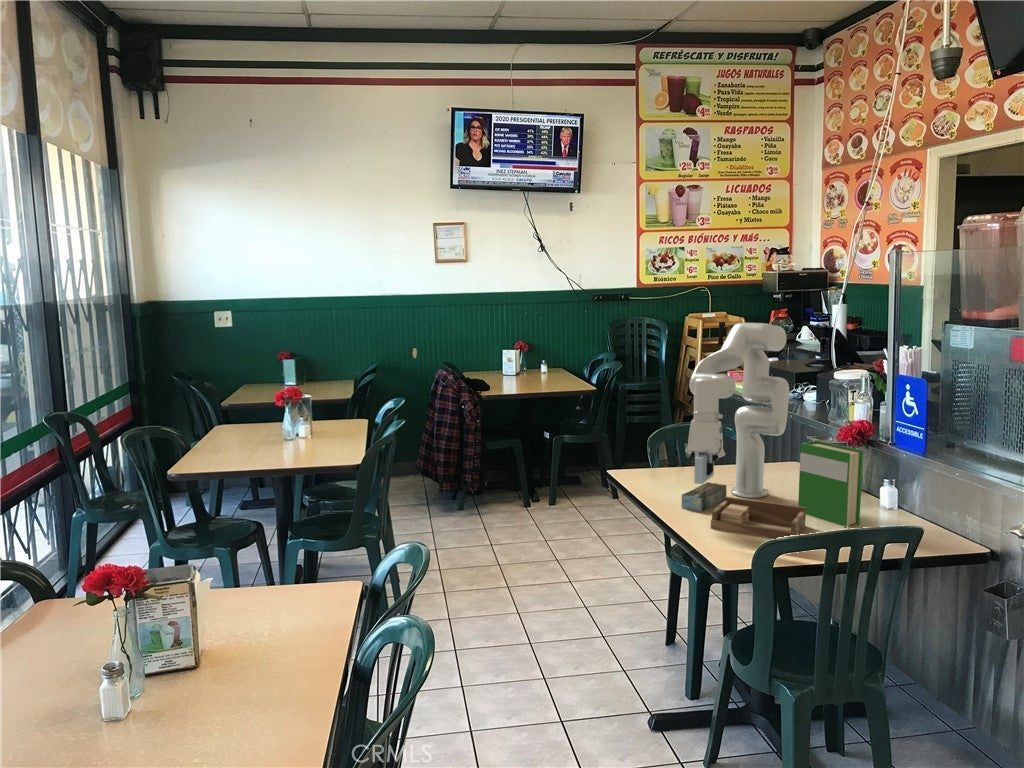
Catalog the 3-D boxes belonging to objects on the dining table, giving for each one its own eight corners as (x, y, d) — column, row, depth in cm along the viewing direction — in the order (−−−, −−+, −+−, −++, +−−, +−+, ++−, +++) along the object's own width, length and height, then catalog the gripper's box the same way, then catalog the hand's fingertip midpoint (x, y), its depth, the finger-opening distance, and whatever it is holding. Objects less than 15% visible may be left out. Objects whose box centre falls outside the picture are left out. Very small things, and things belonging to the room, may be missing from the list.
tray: (725, 517, 273) (725, 496, 272) (805, 528, 261) (806, 507, 260) (710, 531, 260) (711, 509, 259) (793, 544, 247) (794, 521, 246)
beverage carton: (680, 511, 281) (680, 492, 280) (706, 498, 296) (706, 480, 295) (701, 515, 276) (702, 496, 275) (727, 502, 291) (728, 484, 290)
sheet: (706, 474, 271) (706, 450, 270) (713, 475, 270) (714, 450, 269) (694, 483, 261) (695, 457, 260) (701, 484, 260) (702, 458, 259)
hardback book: (859, 524, 264) (863, 450, 261) (844, 529, 260) (848, 453, 257) (812, 511, 279) (815, 440, 276) (797, 514, 275) (800, 443, 272)
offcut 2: (730, 512, 270) (730, 508, 270) (749, 515, 267) (749, 510, 267) (720, 522, 260) (720, 517, 260) (739, 525, 257) (739, 520, 257)
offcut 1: (730, 508, 270) (730, 503, 269) (749, 510, 267) (749, 506, 266) (720, 517, 260) (720, 512, 260) (739, 520, 257) (740, 515, 257)
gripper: (734, 417, 262) (733, 474, 265) (685, 412, 270) (683, 468, 273) (727, 421, 256) (726, 479, 258) (677, 416, 264) (675, 473, 266)
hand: (704, 473), depth 266 cm, fingers closed on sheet, 2 cm apart
